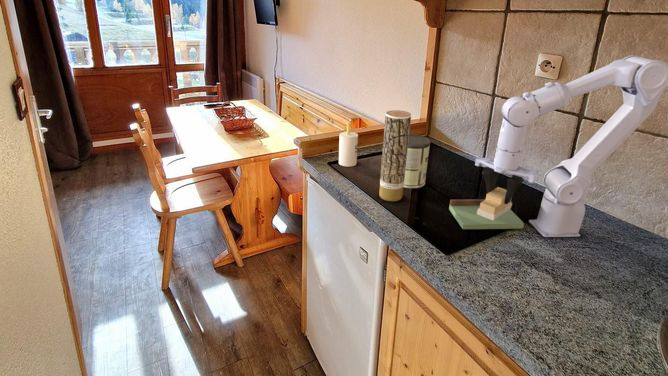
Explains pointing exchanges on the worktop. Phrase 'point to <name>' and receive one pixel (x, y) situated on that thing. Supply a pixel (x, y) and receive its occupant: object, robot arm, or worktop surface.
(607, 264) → the worktop surface
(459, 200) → the green board
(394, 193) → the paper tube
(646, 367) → the worktop surface
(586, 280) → the worktop surface
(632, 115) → the robot arm
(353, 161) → the candle
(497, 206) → the wooden step block
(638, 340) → the worktop surface
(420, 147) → the coffee can
